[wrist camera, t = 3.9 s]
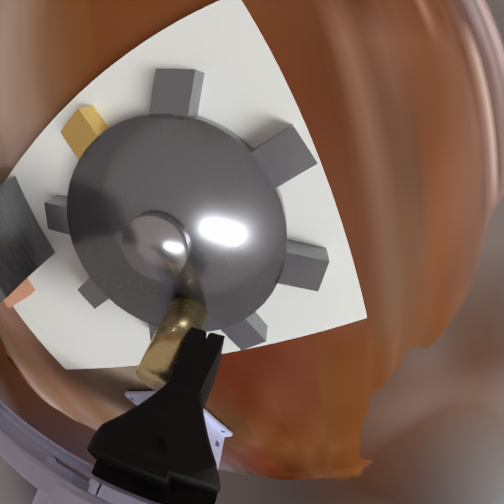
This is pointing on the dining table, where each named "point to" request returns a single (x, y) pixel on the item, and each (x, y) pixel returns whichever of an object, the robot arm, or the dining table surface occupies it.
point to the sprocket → (182, 220)
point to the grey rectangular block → (18, 239)
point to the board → (210, 107)
